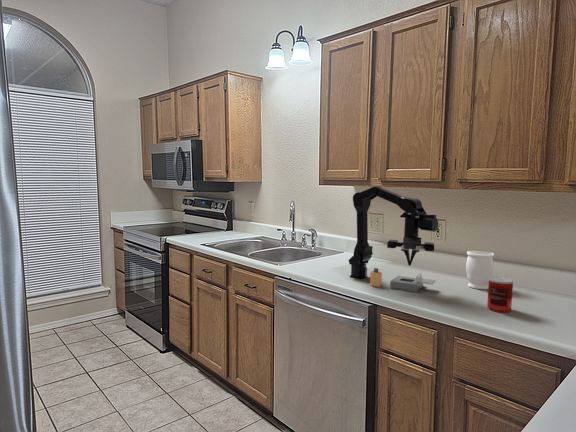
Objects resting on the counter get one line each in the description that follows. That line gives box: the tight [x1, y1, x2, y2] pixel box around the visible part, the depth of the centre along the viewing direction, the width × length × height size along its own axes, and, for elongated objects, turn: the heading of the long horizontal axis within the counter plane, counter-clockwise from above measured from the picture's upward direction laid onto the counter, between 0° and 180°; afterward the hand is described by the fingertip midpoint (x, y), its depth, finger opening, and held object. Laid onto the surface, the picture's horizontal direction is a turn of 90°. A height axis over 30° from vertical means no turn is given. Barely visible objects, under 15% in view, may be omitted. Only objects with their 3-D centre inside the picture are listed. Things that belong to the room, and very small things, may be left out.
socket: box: [389, 275, 424, 293], centre depth 172 cm, size 11×11×3 cm
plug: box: [369, 267, 383, 288], centre depth 174 cm, size 4×3×8 cm
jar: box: [465, 250, 495, 290], centre depth 173 cm, size 11×10×15 cm
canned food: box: [486, 276, 514, 314], centre depth 144 cm, size 8×8×11 cm
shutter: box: [415, 273, 436, 286], centre depth 168 cm, size 6×6×3 cm
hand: (409, 265), depth 171 cm, fingers closed
